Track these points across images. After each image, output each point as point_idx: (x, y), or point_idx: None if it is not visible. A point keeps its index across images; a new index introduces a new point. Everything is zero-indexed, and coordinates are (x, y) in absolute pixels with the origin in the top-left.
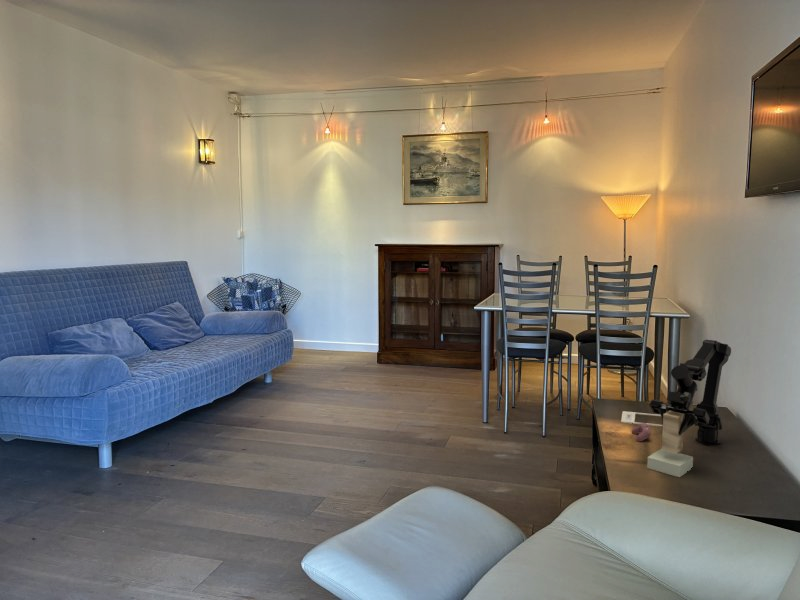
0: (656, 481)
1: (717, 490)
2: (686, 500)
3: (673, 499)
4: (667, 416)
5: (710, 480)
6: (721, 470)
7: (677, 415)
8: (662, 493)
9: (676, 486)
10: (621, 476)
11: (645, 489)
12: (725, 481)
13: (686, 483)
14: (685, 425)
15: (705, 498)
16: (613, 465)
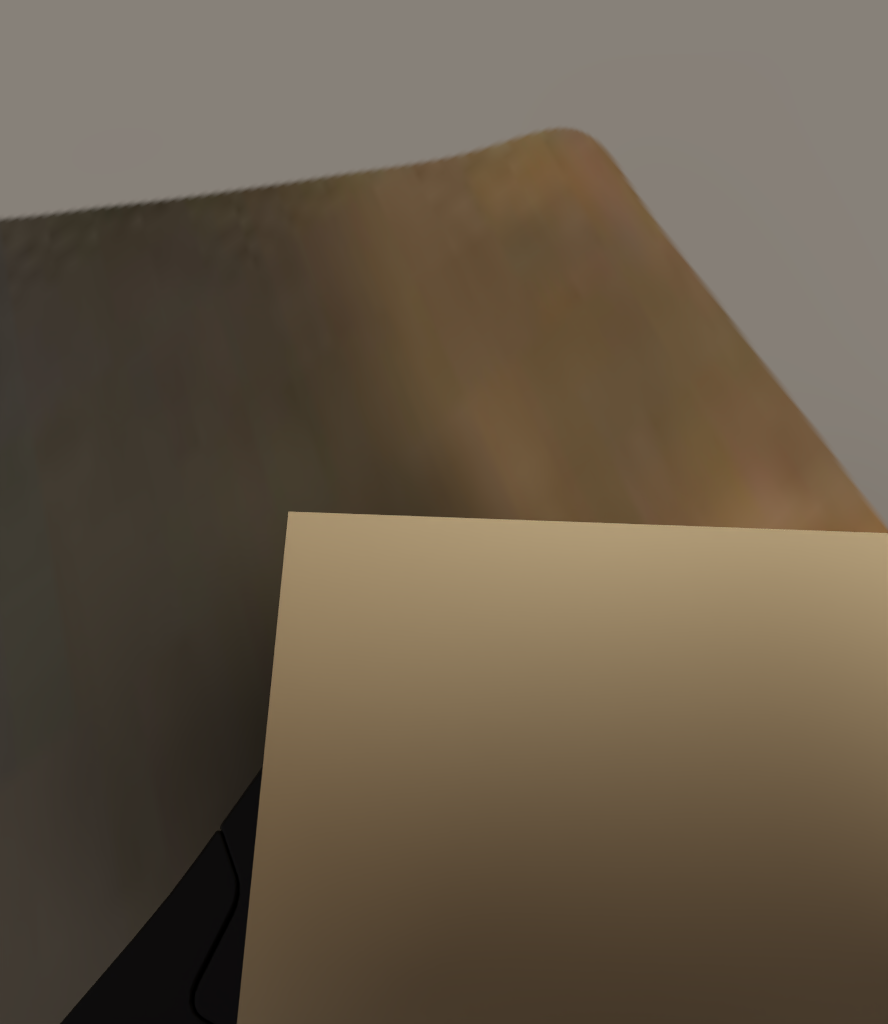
0: (449, 373)
1: (57, 500)
2: (200, 231)
3: (269, 199)
4: (795, 539)
5: (137, 652)
6: (97, 963)
7: (446, 864)
8: (350, 233)
9: (314, 382)
10: (655, 304)
11: (453, 223)
12: (28, 717)
13: (274, 474)
14: (214, 857)
15: (105, 326)
16: (794, 437)
